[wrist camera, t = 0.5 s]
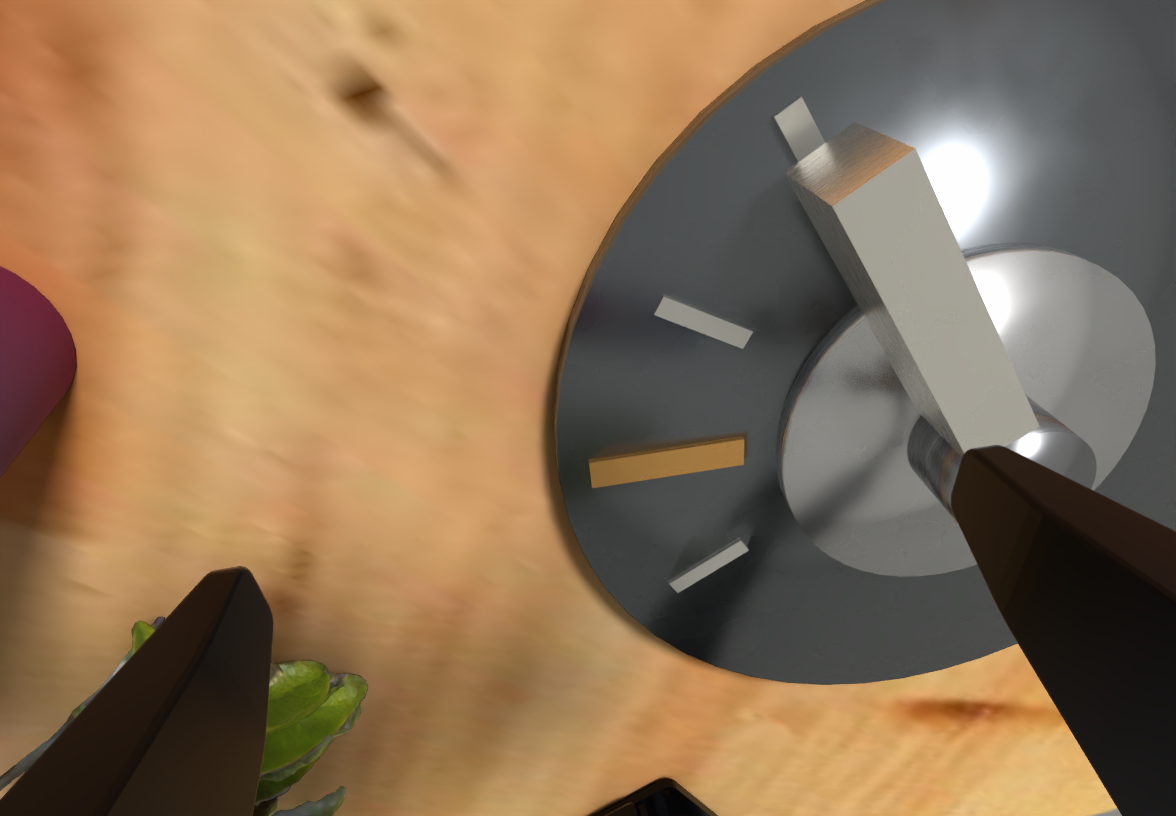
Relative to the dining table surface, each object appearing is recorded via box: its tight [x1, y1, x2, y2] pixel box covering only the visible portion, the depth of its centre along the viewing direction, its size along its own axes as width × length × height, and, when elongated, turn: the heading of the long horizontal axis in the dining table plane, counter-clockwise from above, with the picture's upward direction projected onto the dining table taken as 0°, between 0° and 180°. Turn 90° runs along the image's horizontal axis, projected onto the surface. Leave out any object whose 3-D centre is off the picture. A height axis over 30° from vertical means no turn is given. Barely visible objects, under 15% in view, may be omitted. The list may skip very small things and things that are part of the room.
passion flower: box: [0, 617, 368, 816], centre depth 25 cm, size 11×11×12 cm
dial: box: [776, 122, 1156, 577], centre depth 22 cm, size 17×12×4 cm
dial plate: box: [553, 0, 1176, 685], centre depth 25 cm, size 26×26×1 cm
